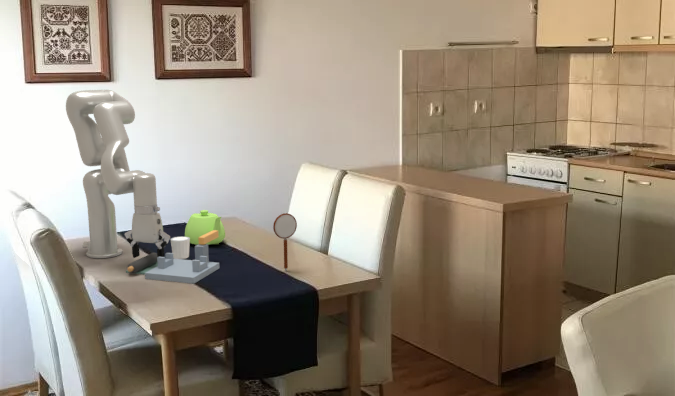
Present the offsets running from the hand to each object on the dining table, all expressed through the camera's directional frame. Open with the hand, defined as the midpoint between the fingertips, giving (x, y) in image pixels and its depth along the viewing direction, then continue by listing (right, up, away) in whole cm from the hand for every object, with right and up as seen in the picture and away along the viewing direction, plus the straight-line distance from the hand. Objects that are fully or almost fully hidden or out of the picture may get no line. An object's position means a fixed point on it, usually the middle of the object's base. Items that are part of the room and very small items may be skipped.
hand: (148, 258), depth 256 cm
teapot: (+14, +3, +32) cm, 35 cm away
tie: (+21, +6, +2) cm, 21 cm away
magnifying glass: (+48, -4, -4) cm, 48 cm away
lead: (-1, -3, -2) cm, 4 cm away
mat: (0, -3, +1) cm, 3 cm away
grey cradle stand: (+13, -5, -7) cm, 16 cm away
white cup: (+8, -1, +13) cm, 16 cm away
